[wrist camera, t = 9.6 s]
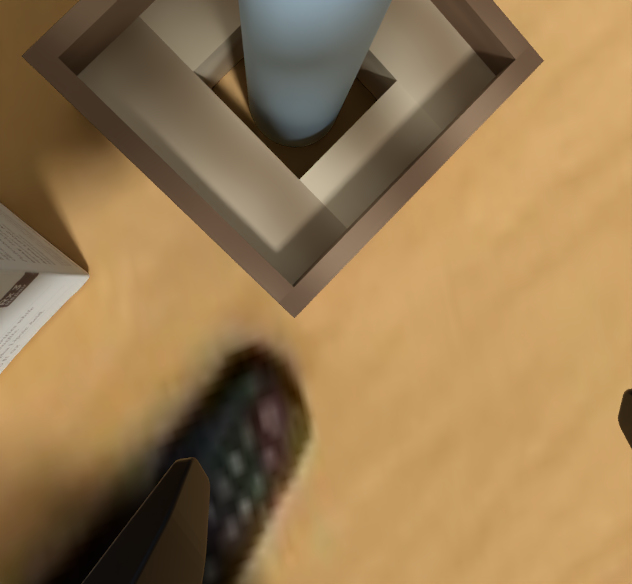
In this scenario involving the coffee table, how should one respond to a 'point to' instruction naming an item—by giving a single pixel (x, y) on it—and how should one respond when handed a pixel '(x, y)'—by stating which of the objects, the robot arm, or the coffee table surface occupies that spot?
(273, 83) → the peg
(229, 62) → the bore box
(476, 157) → the coffee table surface
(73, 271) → the skincare box
